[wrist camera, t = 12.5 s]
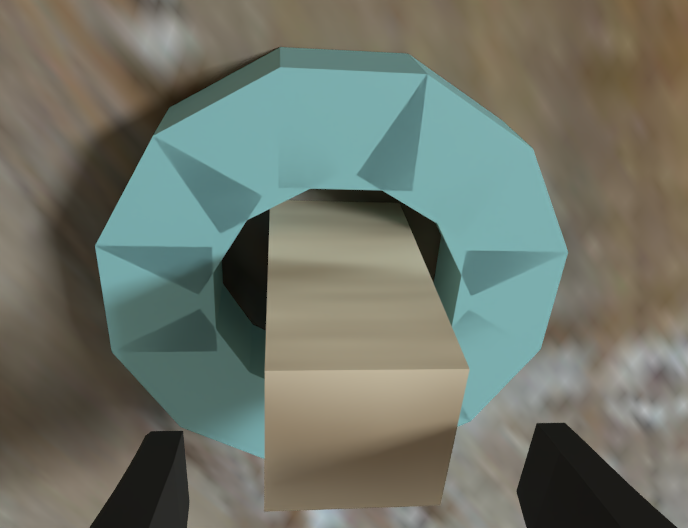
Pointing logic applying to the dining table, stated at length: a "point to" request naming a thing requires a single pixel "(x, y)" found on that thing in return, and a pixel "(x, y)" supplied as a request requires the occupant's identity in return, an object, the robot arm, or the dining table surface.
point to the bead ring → (320, 173)
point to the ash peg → (355, 362)
